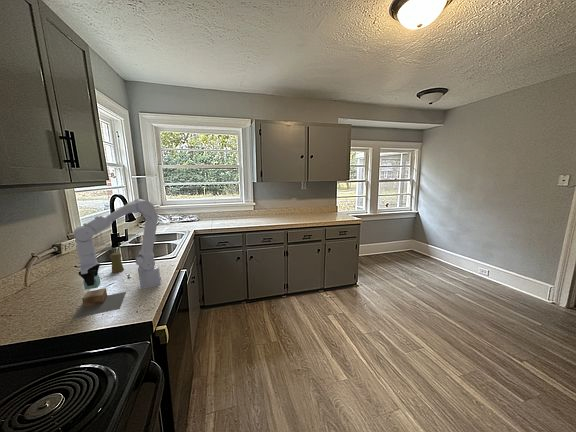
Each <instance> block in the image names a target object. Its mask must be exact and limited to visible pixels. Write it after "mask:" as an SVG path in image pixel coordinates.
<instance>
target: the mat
mask: <svg viewBox="0 0 576 432" xmlns="http://www.w3.org/2000/svg"><path fill="white" fill-rule="evenodd" d="M126 294H127V291H123V292H119V293H114V294H113V293H112V294H107V298H106V299H105V301H104V303H102V304H97V305H92V306H87V307H84V306H83V303H82V304H81V305H80V307H79V308H78V310H77V311H76V312H75V314H74V315H73V317H72V318H71V319H72V320H75V319H80V318H85V317H88V316H89V317H90V316H93V315H97V314H102V313H107V312H111V311H117V310H120V309H121V307H122V304H123V302H124V299H125V296H126Z"/></svg>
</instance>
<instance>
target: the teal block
mask: <svg viewBox="0 0 576 432" xmlns="http://www.w3.org/2000/svg"><path fill="white" fill-rule="evenodd" d="M101 284H102V283H101V278H100V275H99V274H98V275H97V276H94V285H92V286H87V284H86V282H85V281H84V280H83V287H84V290H85V291H86V290H92V289H97V288H99V287H100V285H101Z"/></svg>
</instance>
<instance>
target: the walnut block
mask: <svg viewBox="0 0 576 432" xmlns="http://www.w3.org/2000/svg"><path fill="white" fill-rule="evenodd" d="M107 295H108V292H107V288H106V287H103V288H100V289H94V290H92V289H91V290H88V291H86V292H85V294H84V295H83V297H82V298H81V300H82V301H81V302H82V304H83V306H84V307H87V306H92V305H97V304H102V303H104V301H105V299H106V298H107Z"/></svg>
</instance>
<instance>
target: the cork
mask: <svg viewBox="0 0 576 432" xmlns="http://www.w3.org/2000/svg"><path fill="white" fill-rule="evenodd" d="M121 258H122V254H121V253H120V252H114V253H111V254H110V255H109V259H110V260H111V273H112V274H119V272H120V273H122V272H125V271H124V270H125V268H124V266H123V263H122V259H121Z"/></svg>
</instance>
